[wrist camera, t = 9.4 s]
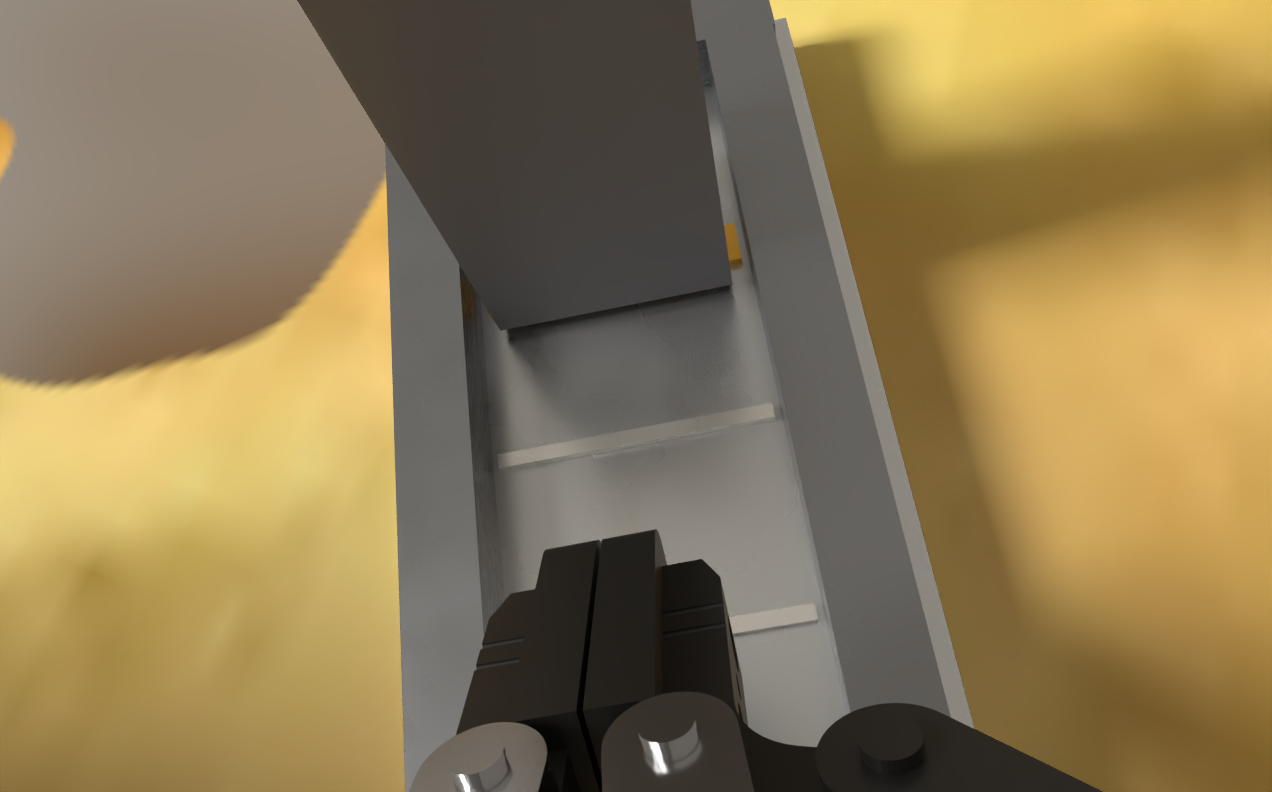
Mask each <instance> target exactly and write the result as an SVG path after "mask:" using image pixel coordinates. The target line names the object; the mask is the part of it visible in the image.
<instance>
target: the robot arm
mask: <svg viewBox="0 0 1272 792" xmlns="http://www.w3.org/2000/svg"><path fill="white" fill-rule="evenodd" d="M482 647H483V649H480V652H479V656H478V659H477V663H476V669H477V670H475V671H474V673H473V677H472V680H471V684H470V687H469V691H468V694H467V698H466V701H465V705H464V708H463V712H462V715H461V719H460V722H459V726H458V729H457V733H456V736H454V737H452V738H451V739H449V740H448V741H446V742H445V743H443V744H442V745H441V746H439V747H438V748H437V749H436V750H434V751H433V752H432V753H431V754H430V755H429V756H428V757H427V758H426V760H425V761H424V762H423V764H422V765H421V766H420V768H419V770H418V772H417V774H416V776H415V778H414V780H413V783H412V785H411V788H410V790H409V792H1102V791H1100V790H1098V789H1096V788H1094V787H1092V786H1090V785H1088V784H1086V783H1084V782H1082V781H1080V780H1078V779H1076V778H1074V777H1072V776H1069V775H1067V774H1065V773H1063V772H1061V771H1059V770H1057V769H1055V768H1053V767H1051V766H1049V765H1047V764H1045V763H1043V762H1041V761H1039V760H1037V759H1035V758H1033V757H1031V756H1029V755H1027V754H1024V753H1022V752H1020V751H1018V750H1016V749H1014V748H1012V747H1010V746H1008V745H1006V744H1004V743H1002V742H1000V741H998V740H996V739H994V738H992V737H990V736H988V735H986V734H984V733H982V732H979V731H977V730H975V729H973V728H971V727H969V726H967V725H965V724H963V723H961V722H959V721H957V720H955V719H953V718H951V717H949V716H947V715H945V714H943V713H940V712H938V711H936V710H933V709H931V708H927V707H924V706H920V705H914V704H907V703H885V704H877V705H872V706H867V707H864V708H861V709H858V710H855V711H853V712H851V713H849V714H847V715H845V716H843V717H842V718H840V719H839V720H837V721H836V722H834V723H833V724H832V725H831V726H830V727H829V728H828V729H827V730H826V732H825V733H824V734H823V736H822V737H821V739H820V741H819V743H818V745H817V747H808V746H797V745H790V744H784V743H780V742H776V741H773V740H771V739H768V738H766V737H763V736H761V735H760V734H758V733H756V732H755V731H753V730H752V729H751V728H749V727H748V720H747V712H746V706H745V697H744V689H743V681H742V674H741V670H740V665H739V660H738V656H737V651H736V647H735V642H734V637H733V633H732V628H731V624H730V619H729V614H728V610H727V605H726V601H725V596H724V591H723V587H722V582H721V578H720V576H719V575H718V574H717V573H716V572H715V571H714V570H713V569H712V568H711V567H710V566H709V565H708V564H707V563H706V562H705V561H704V560H703V559H698V560H693V561H687V562H682V563H676V564H671V565H667V562H666V558H665V554H664V550H663V546H662V542H661V538H660V535H659V533H658V530H657V529H654V530H649V531H643V532H638V533H632V534H627V535H622V536H616V537H611V538H606V539H602V542H601V541H600V540H594V541H589V542H583V543H578V544H572V545H567V546H562V547H556V548H551V549H546V550H544V552H543V556H542V561H541V565H540V570H539V574H538V579H537V583H536V588H535V589H533V590H527V591H522V592H516V593H511V594H510V595H509V596H508V598H507V599H506V600H505V601H504V602H503V603H502V604H501V606H500V607H499V608H498V609H497V610H496V611H495V612H494V614H493V615H492V616H491V617H490V618H489V621H488V625H487V628H486V632H485V635H484V639H483V642H482Z"/></svg>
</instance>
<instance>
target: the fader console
mask: <svg viewBox="0 0 1272 792" xmlns="http://www.w3.org/2000/svg"><path fill="white" fill-rule="evenodd" d="M691 6H692V13H693V20H694V27H695V33H696V40H697V47H698V54H699V60H700V67H701V74H702V81H703V88H704V94H705V101H706V108H707V115H708V121H709V128H710V135H711V142H712V148H713V155H714V162H715V169H716V175H717V182H718V189H719V196H720V202H721V209H722V216H723V223H724V230H725V236H726V243H727V250H728V257H729V263H730V270H731V277H732V285H727V286H722V287H717V288H712V289H707V290H702V291H697V292H692V293H687V294H682V295H677V296H672V297H667V298H662V299H657V300H652V301H647V302H642V303H637V304H632V305H627V306H622V307H617V308H612V309H607V310H602V311H597V312H592V313H587V314H582V315H577V316H572V317H567V318H562V319H557V320H552V321H547V322H542V323H537V324H532V325H527V326H522V327H517V328H512V329H507V330H502V331H500V330H499V328H498V326H497V325H496V323H495V321H494V320H493V318H492V317H491V315H490V313H489V312H488V310H487V308H486V307H485V305H484V304H483V302H482V300H481V299H480V297H479V295H478V294H477V292H476V291H475V289H474V287H473V286H472V284H471V282H470V281H469V279H468V278H467V276H466V274H465V273H464V271H463V269H462V268H461V266H460V264H459V263H458V261H457V260H456V258H455V256H454V255H453V253H452V251H451V250H450V248H449V247H448V245H447V243H446V242H445V240H444V238H443V237H442V235H441V234H440V232H439V230H438V229H437V227H436V225H435V224H434V222H433V220H432V219H431V217H430V216H429V214H428V212H427V211H426V209H425V207H424V206H423V204H422V203H421V201H420V199H419V198H418V196H417V194H416V193H415V191H414V190H413V188H412V186H411V185H410V183H409V181H408V180H407V178H406V176H405V175H404V173H403V172H402V170H401V168H400V167H399V165H398V163H397V162H396V160H395V159H394V157H393V155H392V154H391V152H390V150H389V149H388V147H387V146H385V147H386V148H385V149H386V181H387V213H388V246H389V278H390V310H391V342H392V375H393V407H394V439H395V471H396V504H397V536H398V568H399V600H400V633H401V665H402V697H403V730H404V762H405V792H409V790H410V788H411V785H412V783H413V780H414V778H415V776H416V774H417V772H418V770H419V768H420V766H421V765H422V764H423V762H424V761H425V760H426V758H427V757H428V756H429V755H430V754H431V753H432V752H433V751H434V750H436V749H437V748H438V747H439V746H441V745H442V744H443V743H445V742H446V741H448V740H449V739H451V738H452V737H454V736H456V733H457V729H458V726H459V722H460V719H461V715H462V712H463V708H464V705H465V701H466V698H467V694H468V691H469V687H470V684H471V680H472V677H473V673H474V671H475V670H477V669H476V663H477V659H478V656H479V652H480V649H483V647H482V642H483V639H484V635H485V632H486V628H487V625H488V621H489V618H490V617H491V616H492V615H493V614H494V612H495V611H496V610H497V609H498V608H499V607H500V606H501V604H502V603H503V602H504V601H505V600H506V599H507V598H508V596H509V595H510V594H511V593H516V592H522V591H527V590H533V589H535V588H536V583H537V579H538V574H539V570H540V565H541V561H542V556H543V552H544V550H546V549H551V548H556V547H562V546H567V545H572V544H578V543H583V542H589V541H594V540H600V541H601V542H602V539H606V538H611V537H616V536H622V535H627V534H632V533H638V532H643V531H649V530H654V529H657V530H658V533H659V535H660V538H661V542H662V546H663V550H664V554H665V558H666V562H667V565H671V564H676V563H682V562H687V561H693V560H698V559H703V560H704V561H705V562H706V563H707V564H708V565H709V566H710V567H711V568H712V569H713V570H714V571H715V572H716V573H717V574H718V575H719V576H720V578H721V582H722V587H723V591H724V596H725V601H726V605H727V610H728V614H729V619H730V624H731V628H732V633H733V637H734V642H735V647H736V651H737V656H738V660H739V665H740V670H741V674H742V681H743V689H744V697H745V706H746V712H747V720H748V727H749V728H751V729H752V730H753V731H755V732H756V733H758V734H760V735H761V736H763V737H766V738H768V739H771V740H773V741H776V742H780V743H784V744H790V745H797V746H808V747H817V745H818V743H819V741H820V739H821V737H822V736H823V734H824V733H825V732H826V730H827V729H828V728H829V727H830V726H831V725H832V724H833V723H834V722H836V721H837V720H839V719H840V718H842V717H843V716H845V715H847V714H849V713H851V712H853V711H855V710H858V709H861V708H864V707H867V706H872V705H877V704H885V703H907V704H914V705H920V706H924V707H927V708H931V709H933V710H936V711H938V712H940V713H943V714H945V715H947V716H949V717H951V718H953V719H955V720H957V721H959V722H961V723H963V724H965V725H967V726H969V727H971V728H973V729H974V725H973V721H972V717H971V714H970V710H969V706H968V702H967V698H966V695H965V691H964V687H963V683H962V680H961V676H960V672H959V668H958V665H957V661H956V657H955V653H954V650H953V646H952V642H951V638H950V634H949V631H948V627H947V623H946V619H945V616H944V612H943V608H942V604H941V601H940V597H939V593H938V589H937V585H936V582H935V578H934V574H933V570H932V567H931V563H930V559H929V555H928V552H927V548H926V544H925V540H924V537H923V533H922V529H921V525H920V521H919V518H918V514H917V510H916V506H915V503H914V499H913V495H912V491H911V488H910V484H909V480H908V476H907V472H906V469H905V465H904V461H903V457H902V454H901V450H900V446H899V442H898V439H897V435H896V431H895V427H894V424H893V420H892V416H891V412H890V408H889V405H888V401H887V397H886V393H885V390H884V386H883V382H882V378H881V375H880V371H879V367H878V363H877V359H876V356H875V352H874V348H873V344H872V341H871V337H870V333H869V329H868V326H867V322H866V318H865V314H864V311H863V307H862V303H861V299H860V295H859V292H858V288H857V284H856V280H855V277H854V273H853V269H852V265H851V262H850V258H849V254H848V250H847V246H846V243H845V239H844V235H843V231H842V228H841V224H840V220H839V216H838V213H837V209H836V205H835V201H834V198H833V194H832V190H831V186H830V182H829V179H828V175H827V171H826V167H825V164H824V160H823V156H822V152H821V149H820V145H819V141H818V137H817V133H816V130H815V126H814V122H813V118H812V115H811V111H810V107H809V103H808V100H807V96H806V92H805V88H804V85H803V81H802V77H801V73H800V69H799V66H798V62H797V58H796V54H795V51H794V47H793V43H792V39H791V36H790V32H789V28H788V24H787V20H786V18H782V19H778V20H774V18H773V14H772V10H771V6H770V2H769V0H691ZM385 145H386V144H385Z"/></svg>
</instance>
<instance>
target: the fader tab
mask: <svg viewBox="0 0 1272 792" xmlns="http://www.w3.org/2000/svg"><path fill="white" fill-rule="evenodd" d="M297 1H298V2H299V4H300V5H301V7H302V9H303V10H304V12H305V14H306V15H307V17H308V18H309V20H310V22H311V23H312V25H313V27H314V28H315V30H316V31H317V33H318V35H319V36H320V38H321V39H322V41H323V43H324V44H325V46H326V48H327V49H328V51H329V53H330V54H331V56H332V58H333V59H334V61H335V62H336V64H337V66H338V67H339V69H340V71H341V72H342V74H343V75H344V77H345V79H346V80H347V82H348V84H349V85H350V87H351V89H352V90H353V92H354V93H355V95H356V97H357V98H358V100H359V101H360V103H361V105H362V106H363V108H364V110H365V111H366V113H367V115H368V116H369V118H370V119H371V121H372V123H373V124H374V126H375V128H376V129H377V131H378V133H379V134H380V136H381V137H382V139H383V141H384V142H385V144H386V146H387V147H388V149H389V150H390V152H391V154H392V155H393V157H394V159H395V160H396V162H397V163H398V165H399V167H400V168H401V170H402V172H403V173H404V175H405V176H406V178H407V180H408V181H409V183H410V185H411V186H412V188H413V190H414V191H415V193H416V194H417V196H418V198H419V199H420V201H421V203H422V204H423V206H424V207H425V209H426V211H427V212H428V214H429V216H430V217H431V219H432V220H433V222H434V224H435V225H436V227H437V229H438V230H439V232H440V234H441V235H442V237H443V238H444V240H445V242H446V243H447V245H448V247H449V248H450V250H451V251H452V253H453V255H454V256H455V258H456V260H457V261H458V263H459V264H460V266H461V268H462V269H463V271H464V273H465V274H466V276H467V278H468V279H469V281H470V282H471V284H472V286H473V287H474V289H475V291H476V292H477V294H478V295H479V297H480V299H481V300H482V302H483V304H484V305H485V307H486V308H487V310H488V312H489V313H490V315H491V317H492V318H493V320H494V321H495V323H496V325H497V326H498V328H499V330H500V331H502V330H507V329H512V328H517V327H522V326H527V325H532V324H537V323H542V322H547V321H552V320H557V319H562V318H567V317H572V316H577V315H582V314H587V313H592V312H597V311H602V310H607V309H612V308H617V307H622V306H627V305H632V304H637V303H642V302H647V301H652V300H657V299H662V298H667V297H672V296H677V295H682V294H687V293H692V292H697V291H702V290H707V289H712V288H717V287H722V286H727V285H732V277H731V270H730V263H729V257H728V250H727V243H726V236H725V230H724V223H723V216H722V209H721V202H720V196H719V189H718V182H717V175H716V169H715V162H714V155H713V148H712V142H711V135H710V128H709V121H708V115H707V108H706V101H705V94H704V88H703V81H702V74H701V67H700V60H699V54H698V47H697V40H696V33H695V27H694V20H693V13H692V6H691V0H297Z"/></svg>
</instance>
